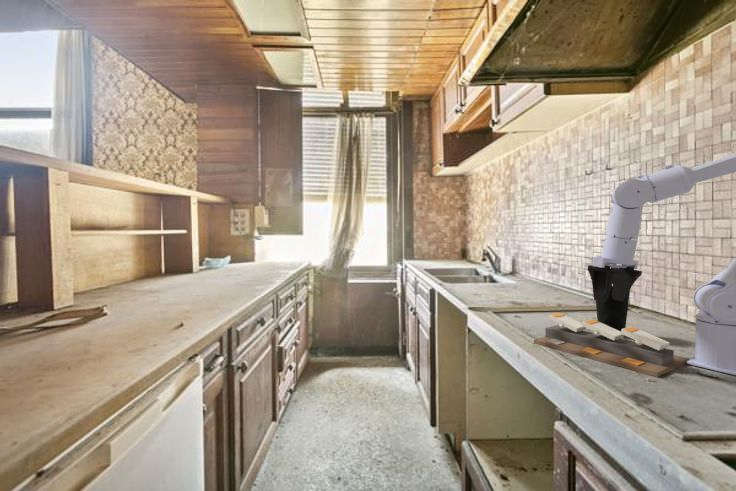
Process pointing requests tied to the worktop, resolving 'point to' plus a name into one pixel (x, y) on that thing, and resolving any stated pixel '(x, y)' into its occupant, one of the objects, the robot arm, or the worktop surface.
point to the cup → (613, 312)
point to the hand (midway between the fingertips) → (609, 300)
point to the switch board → (615, 358)
